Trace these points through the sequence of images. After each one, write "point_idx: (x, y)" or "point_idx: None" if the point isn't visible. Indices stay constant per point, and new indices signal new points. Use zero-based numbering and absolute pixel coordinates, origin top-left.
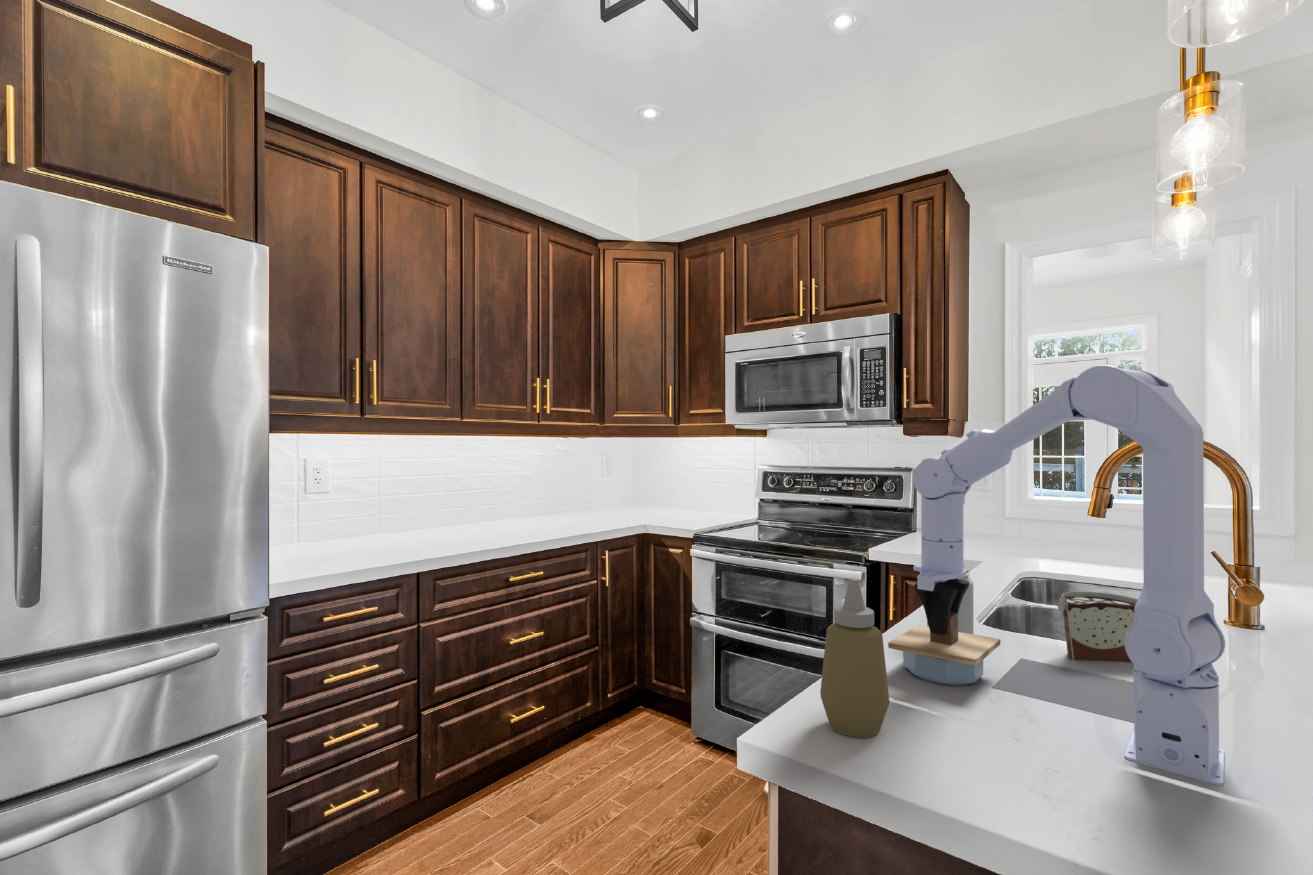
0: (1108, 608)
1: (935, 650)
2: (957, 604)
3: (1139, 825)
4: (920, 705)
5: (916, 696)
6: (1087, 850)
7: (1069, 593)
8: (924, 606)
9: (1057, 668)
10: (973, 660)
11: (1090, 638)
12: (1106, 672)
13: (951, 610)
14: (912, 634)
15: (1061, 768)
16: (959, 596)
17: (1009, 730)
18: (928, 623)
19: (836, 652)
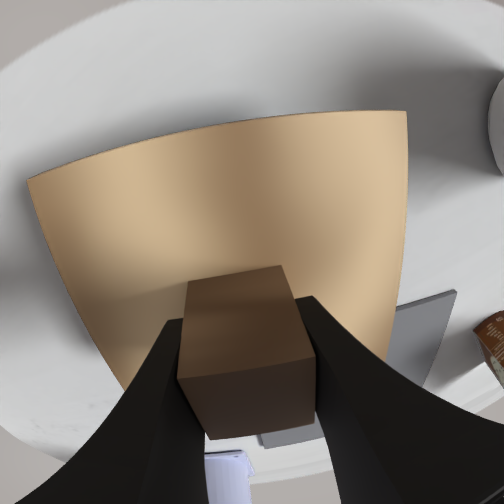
0: None
1: (106, 340)
2: (331, 458)
3: (73, 455)
4: (34, 296)
5: (53, 270)
6: (22, 438)
7: None
8: (103, 427)
9: (429, 346)
10: None
11: (497, 366)
12: (448, 366)
13: (321, 414)
14: (224, 168)
15: (85, 432)
16: (341, 499)
17: (103, 398)
18: (151, 348)
19: None
